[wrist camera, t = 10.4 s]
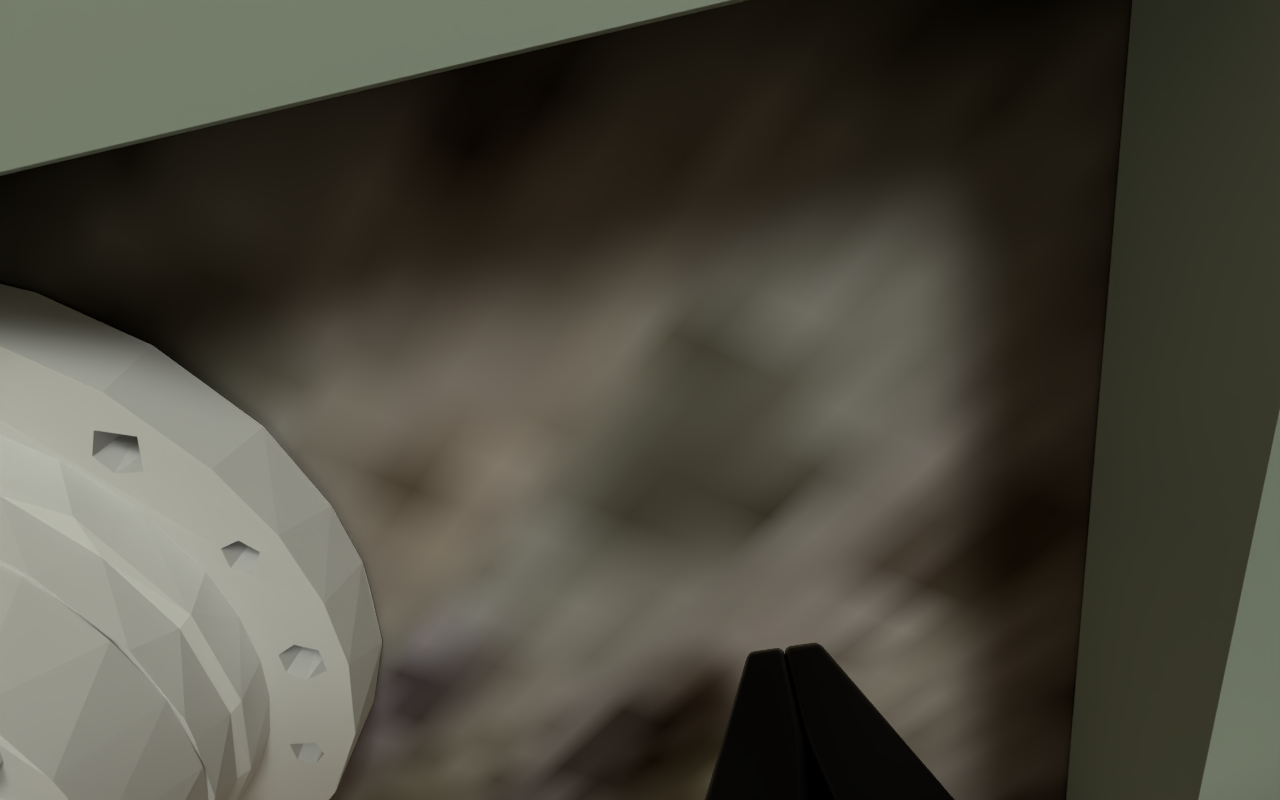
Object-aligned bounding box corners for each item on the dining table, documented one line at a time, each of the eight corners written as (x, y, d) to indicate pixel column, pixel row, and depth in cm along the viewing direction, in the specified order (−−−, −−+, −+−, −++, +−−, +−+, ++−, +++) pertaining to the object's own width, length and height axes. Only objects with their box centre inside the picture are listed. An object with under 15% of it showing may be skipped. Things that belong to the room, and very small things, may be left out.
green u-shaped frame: (1280, -266, 6) (1660, -446, 4) (1117, 882, 13) (1214, 1059, 11) (-704, 237, 8) (-1224, 314, 6) (80, 989, 15) (-19, 1155, 13)
